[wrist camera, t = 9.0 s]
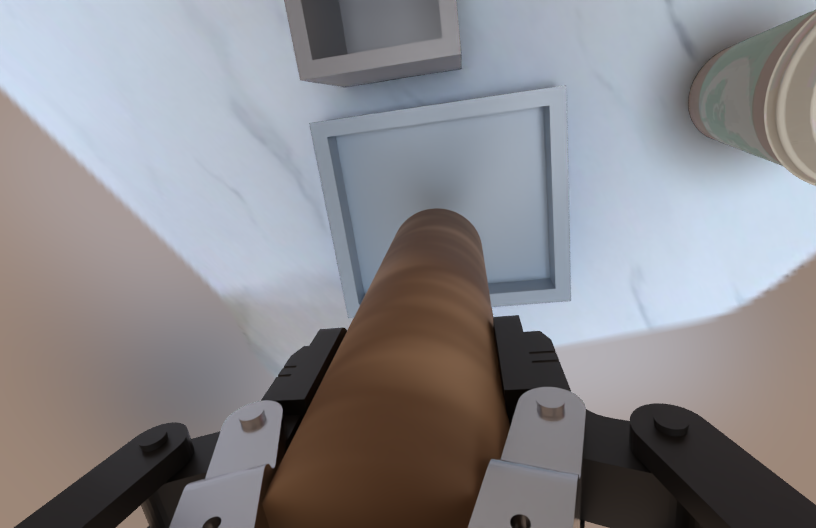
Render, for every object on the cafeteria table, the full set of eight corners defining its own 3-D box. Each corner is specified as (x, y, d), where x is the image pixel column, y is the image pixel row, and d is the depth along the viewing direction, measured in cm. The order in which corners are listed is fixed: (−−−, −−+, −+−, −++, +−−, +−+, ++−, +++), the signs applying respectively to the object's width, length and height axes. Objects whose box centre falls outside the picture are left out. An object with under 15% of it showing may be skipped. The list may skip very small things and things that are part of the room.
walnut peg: (478, 203, 21) (526, 458, 6) (485, 290, 22) (539, 678, 7) (386, 213, 21) (211, 466, 6) (399, 297, 23) (280, 666, 8)
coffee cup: (657, 44, 28) (791, 3, 16) (812, -4, 26) (1081, -87, 15) (672, 178, 30) (797, 221, 19) (815, 141, 28) (1047, 165, 17)
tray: (556, 87, 29) (566, 85, 26) (562, 284, 33) (571, 300, 31) (322, 121, 31) (309, 123, 29) (357, 301, 36) (348, 317, 33)
